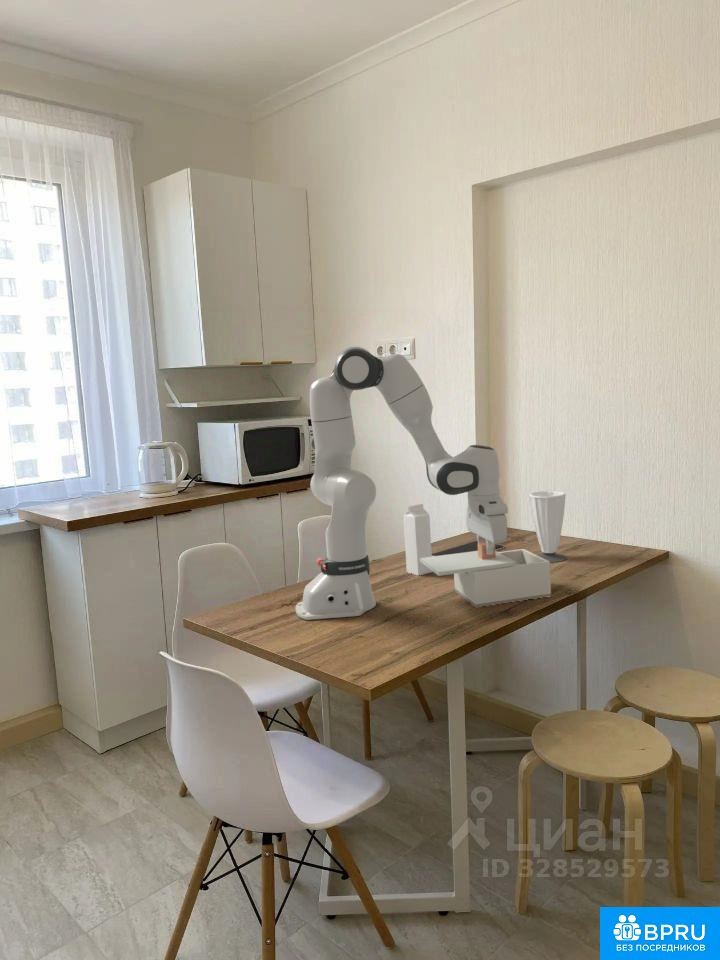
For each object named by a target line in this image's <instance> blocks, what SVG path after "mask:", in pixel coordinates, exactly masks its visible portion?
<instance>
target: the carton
mask: <svg viewBox="0 0 720 960" xmlns="http://www.w3.org/2000/svg"><path fill="white" fill-rule="evenodd" d="M498 552H499V553H500V554H502V555H504V556H506V557H508V558H510V559H512V560H513V561H515V562H516V566H509V567H501V568H494V569H486V570H479V571H471V572H464V573H457V574H453V578H454V580H453V581H454V592H455V593H456V594H457V593H458V594H457V595H459V596H460V597H461V596H462V597H461V598H462V599H464V600H465V599H466V600H467V602H468V601H469V602H470V603H471V604H470V603H469V602H468V603H469V604H470V605H472V604H473V605H474V606H475V607H479V608H482V607H481V606H486V607H488V606H487V605H492V604H499V603H505V602H512V601H519V600H526V599H532V598H540V597H546V596H551V597H552V590H551V589H552V586H551V582H552V581H551V579H552V578H551V563H550V561H548V560H546V559H543V558H541V557H539V556H537V554H535V553H533V552H531V551H529V550H527V549H524V548H521V549H513V550H511V549H510V550H505V551H498ZM466 600H465V601H466ZM473 605H472V606H473ZM474 606H473V607H474ZM475 607H474V608H475Z"/></svg>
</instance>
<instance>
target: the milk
mask: <svg viewBox="0 0 720 960" xmlns="http://www.w3.org/2000/svg"><path fill="white" fill-rule="evenodd" d="M407 508H408V511H407V512H406V513H404V514H403V518H402V519H403V529H404V530H403V531H404V532H403V533H404V534H403V535H404V549H405V565H406V566H405V567H406V573H407V572H408V574H411V573H412V574H411V575H414V576H417V575H418V576H419V575H420V576H423V575H426V574H430V573H434V572H433V571H432V570H430V569H429V568H428V567H427V566H425V565H424V564H423V563H421V562H420V558H425V557H432V554H433V552H432V540H431V539H432V538H431V520H430V519H431V518H430V514H429V513H428V512H427V510H426V509H424V504H423V503H420V504H419V503H418V504H414V505H409V506H408V507H407ZM418 576H417V577H418ZM420 576H419V577H420Z"/></svg>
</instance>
